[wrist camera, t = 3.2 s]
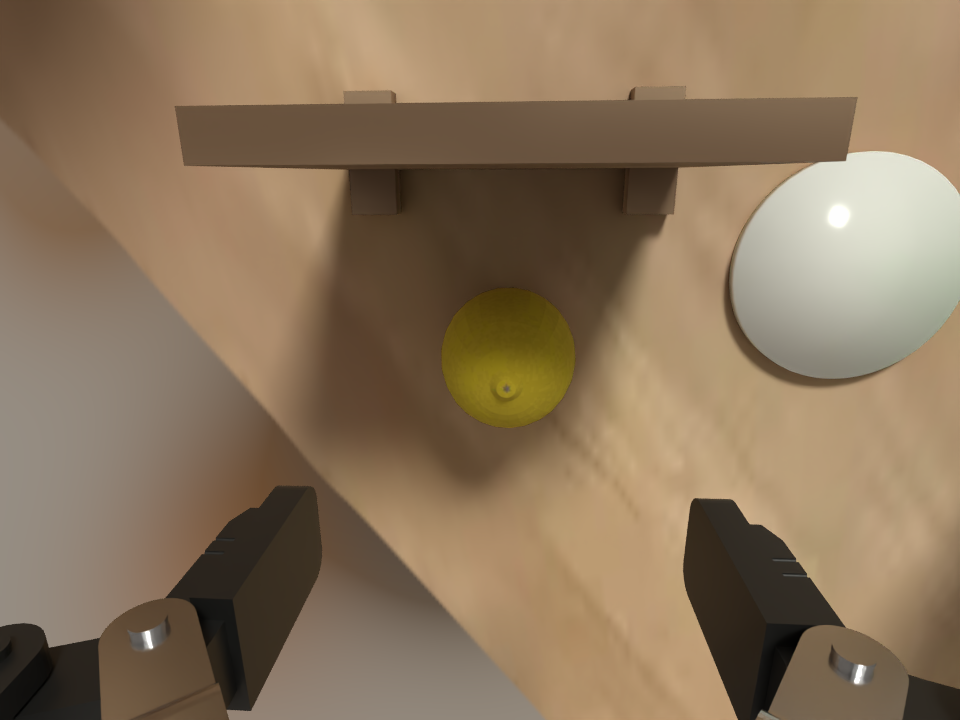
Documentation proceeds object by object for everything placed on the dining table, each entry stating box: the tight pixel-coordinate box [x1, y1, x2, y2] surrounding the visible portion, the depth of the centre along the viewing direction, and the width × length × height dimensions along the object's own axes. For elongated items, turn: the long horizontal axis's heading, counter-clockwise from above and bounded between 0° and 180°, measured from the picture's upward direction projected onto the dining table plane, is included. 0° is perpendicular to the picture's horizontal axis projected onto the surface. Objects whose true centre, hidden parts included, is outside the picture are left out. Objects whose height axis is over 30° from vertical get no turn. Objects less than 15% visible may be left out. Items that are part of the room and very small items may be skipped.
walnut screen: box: [175, 86, 857, 215], centre depth 19 cm, size 5×14×14 cm, turn 90°
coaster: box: [729, 151, 960, 379], centre depth 26 cm, size 10×10×1 cm
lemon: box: [441, 287, 575, 428], centre depth 24 cm, size 6×6×8 cm
